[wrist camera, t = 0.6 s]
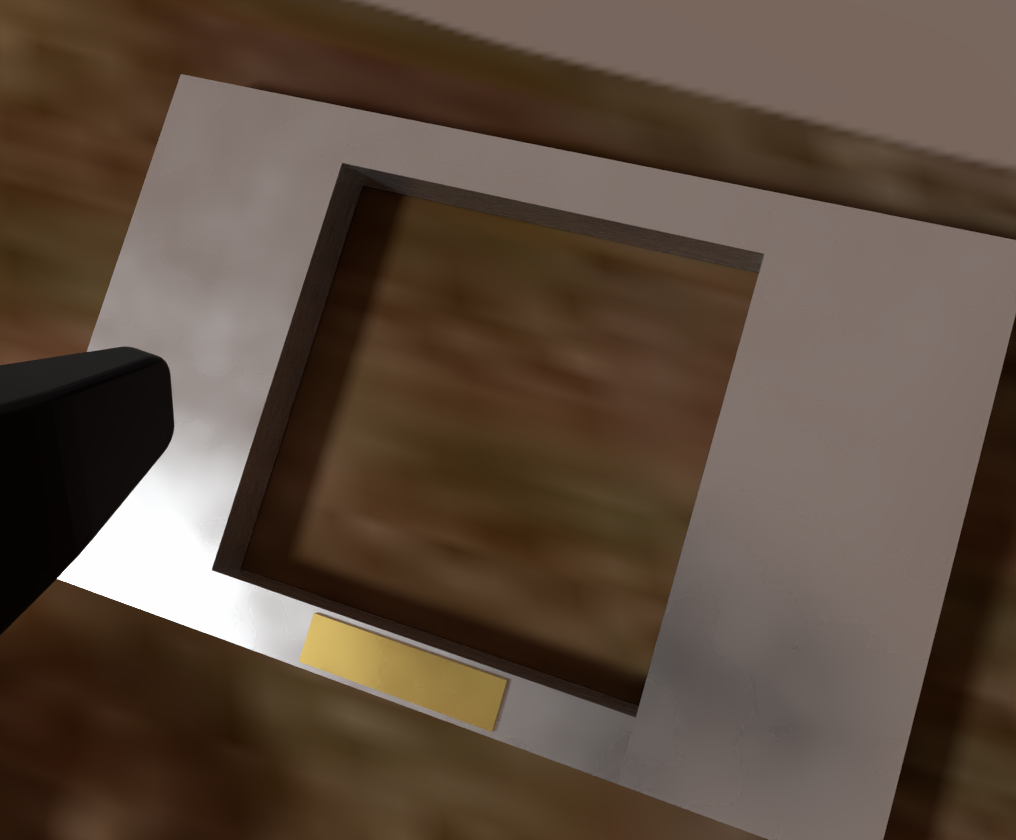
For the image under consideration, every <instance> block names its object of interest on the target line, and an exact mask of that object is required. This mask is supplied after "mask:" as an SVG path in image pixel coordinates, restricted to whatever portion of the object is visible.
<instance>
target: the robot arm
mask: <svg viewBox="0 0 1016 840" xmlns="http://www.w3.org/2000/svg"><path fill="white" fill-rule="evenodd" d="M173 433H174V412H173V399H172V387H171V374H170V369H169V367H168V364H167V363H166V361H165V360H164V359H163V358H161V357H160V356H157V355H154V354H152V353H149V352H146V351H143V350H140V349H137V348H134V347H127V346H124V347H116V348H110V349H103V350H97V351H91V352H84V353H78V354H71V355H65V356H58V357H52V358H45V359H39V360H33V361H26V362H20V363H13V364H7V365H0V635H1V634H2V633H3V632H4V631H5V630H6V629H7V628H8V627H9V626H10V625H11V624H12V623H13V622H14V621H15V620H16V619H17V618H18V617H19V616H20V615H21V614H22V613H23V612H24V611H25V610H26V609H27V608H28V607H29V606H30V605H31V604H32V603H33V602H34V601H35V600H36V599H37V598H38V597H39V596H40V595H41V594H42V593H43V592H44V591H45V590H46V589H47V588H48V587H49V586H50V585H51V584H52V583H53V582H54V581H55V580H56V579H57V578H58V577H59V576H60V575H61V574H62V573H63V572H64V571H65V570H66V569H67V568H68V567H69V566H70V565H71V564H72V562H73V561H74V560H75V559H76V558H77V557H78V556H79V555H80V554H81V553H82V551H83V550H84V549H85V548H86V547H87V546H88V544H89V543H90V542H91V541H92V540H93V539H94V537H95V536H96V535H97V534H98V533H99V531H100V530H101V529H102V528H103V526H104V525H105V524H106V523H107V522H108V520H109V519H110V518H111V517H112V515H113V514H114V513H115V512H116V511H117V509H118V508H119V507H120V506H121V504H122V503H123V502H124V501H125V500H126V498H127V497H128V496H129V495H130V493H131V492H132V491H133V490H134V488H135V487H136V486H137V485H138V484H139V482H140V481H141V480H142V479H143V477H144V476H145V475H146V474H147V473H148V471H149V470H150V469H151V468H152V466H153V465H154V464H155V463H156V462H157V460H158V459H159V458H160V457H161V455H162V454H163V453H164V452H165V450H166V449H167V447H168V446H169V444H170V442H171V439H172V436H173Z"/></svg>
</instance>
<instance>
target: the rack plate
mask: <svg viewBox="0 0 1016 840" xmlns="http://www.w3.org/2000/svg"><path fill="white" fill-rule="evenodd" d="M362 186H367V187H371V188H376V189H380V190H385V191H389V192H394V193H399V194H403V195H408V196H412V197H417V198H421V199H426V200H430V201H435V202H439V203H444V204H448V205H453V206H457V207H462V208H467V209H471V210H476V211H480V212H485V213H489V214H494V215H498V216H503V217H507V218H512V219H516V220H521V221H525V222H530V223H535V224H539V225H544V226H548V227H553V228H557V229H562V230H566V231H571V232H575V233H580V234H584V235H589V236H593V237H598V238H603V239H607V240H612V241H616V242H621V243H625V244H630V245H634V246H639V247H643V248H648V249H652V250H657V251H662V252H666V253H671V254H675V255H680V256H684V257H689V258H693V259H698V260H702V261H707V262H711V263H716V264H720V265H725V266H730V267H734V268H739V269H743V270H748V271H752V272H757V273H759V275H758V279H757V282H756V286H755V290H754V293H753V297H752V300H751V304H750V308H749V311H748V315H747V318H746V322H745V326H744V329H743V333H742V336H741V340H740V344H739V347H738V351H737V354H736V358H735V362H734V365H733V369H732V372H731V376H730V380H729V383H728V387H727V390H726V394H725V398H724V401H723V405H722V409H721V412H720V416H719V419H718V423H717V427H716V430H715V434H714V437H713V441H712V445H711V448H710V452H709V455H708V459H707V463H706V466H705V470H704V473H703V477H702V481H701V484H700V488H699V491H698V495H697V499H696V502H695V506H694V509H693V513H692V517H691V520H690V524H689V527H688V531H687V535H686V538H685V542H684V545H683V549H682V553H681V556H680V560H679V563H678V567H677V571H676V574H675V578H674V582H673V585H672V589H671V592H670V596H669V600H668V603H667V607H666V610H665V614H664V618H663V621H662V625H661V628H660V632H659V636H658V639H657V643H656V646H655V650H654V654H653V657H652V661H651V664H650V668H649V672H648V675H647V679H646V682H645V686H644V690H643V693H642V697H641V700H640V704H639V706H638V705H636V704H633V703H630V702H627V701H624V700H621V699H618V698H615V697H612V696H609V695H606V694H604V693H601V692H598V691H595V690H592V689H589V688H586V687H583V686H580V685H577V684H574V683H572V682H569V681H566V680H563V679H560V678H557V677H554V676H551V675H548V674H545V673H542V672H540V671H537V670H534V669H531V668H528V667H525V666H522V665H519V664H516V663H513V662H510V661H508V660H505V659H502V658H499V657H496V656H493V655H490V654H487V653H484V652H481V651H478V650H476V649H473V648H470V647H467V646H464V645H461V644H458V643H455V642H452V641H449V640H446V639H444V638H441V637H438V636H435V635H432V634H429V633H426V632H423V631H420V630H417V629H414V628H412V627H409V626H406V625H403V624H400V623H397V622H394V621H391V620H388V619H385V618H382V617H380V616H377V615H374V614H371V613H368V612H365V611H362V610H359V609H356V608H353V607H350V606H348V605H345V604H342V603H339V602H336V601H333V600H330V599H327V598H324V597H321V596H318V595H316V594H313V593H310V592H307V591H304V590H301V589H298V588H295V587H292V586H289V585H286V584H284V583H281V582H278V581H275V580H272V579H269V578H266V577H263V576H260V575H257V574H254V573H252V572H249V571H246V570H243V569H241V567H242V564H243V560H244V557H245V554H246V551H247V548H248V545H249V542H250V538H251V535H252V532H253V529H254V526H255V523H256V519H257V516H258V513H259V510H260V507H261V504H262V501H263V497H264V494H265V491H266V488H267V485H268V482H269V479H270V475H271V472H272V469H273V466H274V463H275V460H276V457H277V453H278V450H279V447H280V444H281V441H282V438H283V435H284V431H285V428H286V425H287V422H288V419H289V416H290V413H291V409H292V406H293V403H294V400H295V397H296V394H297V391H298V387H299V384H300V381H301V378H302V375H303V372H304V369H305V365H306V362H307V359H308V356H309V353H310V350H311V347H312V343H313V340H314V337H315V334H316V331H317V328H318V325H319V321H320V318H321V315H322V312H323V309H324V306H325V303H326V299H327V296H328V293H329V290H330V287H331V284H332V281H333V277H334V274H335V271H336V268H337V265H338V262H339V258H340V255H341V252H342V249H343V246H344V243H345V240H346V236H347V233H348V230H349V227H350V224H351V221H352V218H353V214H354V211H355V208H356V205H357V202H358V199H359V196H360V192H361V189H362ZM1015 315H1016V240H1013V239H1008V238H1003V237H997V236H992V235H987V234H982V233H977V232H972V231H967V230H962V229H957V228H952V227H947V226H942V225H937V224H932V223H927V222H922V221H917V220H912V219H907V218H902V217H897V216H892V215H887V214H882V213H877V212H872V211H867V210H862V209H857V208H852V207H847V206H841V205H836V204H831V203H826V202H821V201H816V200H811V199H806V198H801V197H796V196H791V195H786V194H781V193H776V192H771V191H766V190H761V189H756V188H751V187H746V186H741V185H736V184H731V183H726V182H721V181H716V180H711V179H706V178H701V177H696V176H691V175H685V174H680V173H675V172H670V171H665V170H660V169H655V168H650V167H645V166H640V165H635V164H630V163H625V162H620V161H615V160H610V159H605V158H600V157H595V156H590V155H585V154H580V153H575V152H570V151H565V150H560V149H555V148H550V147H545V146H540V145H535V144H529V143H524V142H519V141H514V140H509V139H504V138H499V137H494V136H489V135H484V134H479V133H474V132H469V131H464V130H459V129H454V128H449V127H444V126H439V125H434V124H429V123H424V122H419V121H414V120H409V119H404V118H399V117H394V116H389V115H384V114H379V113H373V112H368V111H363V110H358V109H353V108H348V107H343V106H338V105H333V104H328V103H323V102H318V101H313V100H308V99H303V98H298V97H293V96H288V95H283V94H278V93H273V92H268V91H263V90H258V89H253V88H248V87H243V86H238V85H233V84H228V83H223V82H217V81H212V80H207V79H202V78H197V77H192V76H187V75H182V74H181V75H180V78H179V81H178V84H177V87H176V90H175V93H174V96H173V99H172V102H171V105H170V108H169V111H168V114H167V117H166V120H165V123H164V125H163V128H162V131H161V134H160V137H159V140H158V143H157V146H156V149H155V152H154V155H153V158H152V161H151V164H150V167H149V170H148V173H147V176H146V179H145V182H144V184H143V187H142V190H141V193H140V196H139V199H138V202H137V205H136V208H135V211H134V214H133V217H132V220H131V223H130V226H129V229H128V232H127V235H126V238H125V240H124V243H123V246H122V249H121V252H120V255H119V258H118V261H117V264H116V267H115V270H114V273H113V276H112V279H111V282H110V285H109V288H108V291H107V294H106V296H105V299H104V302H103V305H102V308H101V311H100V314H99V317H98V320H97V323H96V326H95V329H94V332H93V335H92V338H91V341H90V344H89V347H88V350H87V352H91V351H97V350H103V349H110V348H116V347H124V346H127V347H134V348H137V349H140V350H143V351H146V352H149V353H152V354H154V355H157V356H160V357H161V358H163V359H164V360H165V361H166V363H167V364H168V367H169V369H170V374H171V387H172V399H173V412H174V433H173V436H172V439H171V442H170V444H169V446H168V447H167V449H166V450H165V452H164V453H163V454H162V455H161V457H160V458H159V459H158V460H157V462H156V463H155V464H154V465H153V466H152V468H151V469H150V470H149V471H148V473H147V474H146V475H145V476H144V477H143V479H142V480H141V481H140V482H139V484H138V485H137V486H136V487H135V488H134V490H133V491H132V492H131V493H130V495H129V496H128V497H127V498H126V500H125V501H124V502H123V503H122V504H121V506H120V507H119V508H118V509H117V511H116V512H115V513H114V514H113V515H112V517H111V518H110V519H109V520H108V522H107V523H106V524H105V525H104V526H103V528H102V529H101V530H100V531H99V533H98V534H97V535H96V536H95V537H94V539H93V540H92V541H91V542H90V543H89V544H88V546H87V547H86V548H85V549H84V550H83V551H82V553H81V554H80V555H79V556H78V557H77V558H76V559H75V560H74V561H73V562H72V564H71V565H70V566H69V567H68V568H67V569H66V570H65V571H64V572H63V573H62V574H61V575H60V576H59V577H58V578H57V579H60V580H63V581H65V582H68V583H71V584H74V585H76V586H79V587H82V588H85V589H87V590H90V591H93V592H95V593H98V594H101V595H104V596H106V597H109V598H112V599H115V600H117V601H120V602H123V603H125V604H128V605H131V606H134V607H136V608H139V609H142V610H145V611H147V612H150V613H153V614H155V615H158V616H161V617H164V618H166V619H169V620H172V621H174V622H177V623H180V624H183V625H185V626H188V627H191V628H194V629H196V630H199V631H202V632H204V633H207V634H210V635H213V636H215V637H218V638H221V639H224V640H226V641H229V642H232V643H234V644H237V645H240V646H243V647H245V648H248V649H251V650H254V651H256V652H259V653H262V654H264V655H267V656H270V657H273V658H275V659H278V660H281V661H284V662H286V663H289V664H292V665H294V666H297V667H300V668H303V669H305V670H308V671H311V672H314V673H316V674H319V675H322V676H324V677H327V678H330V679H333V680H335V681H338V682H341V683H343V684H346V685H349V686H352V687H354V688H357V689H360V690H363V691H365V692H368V693H371V694H373V695H376V696H379V697H382V698H384V699H387V700H390V701H393V702H395V703H398V704H401V705H403V706H406V707H409V708H412V709H414V710H417V711H420V712H423V713H425V714H428V715H431V716H433V717H436V718H439V719H442V720H444V721H447V722H450V723H453V724H455V725H458V726H461V727H463V728H466V729H469V730H472V731H474V732H477V733H480V734H483V735H485V736H488V737H491V738H493V739H496V740H499V741H502V742H504V743H507V744H510V745H512V746H515V747H518V748H521V749H523V750H526V751H529V752H532V753H534V754H537V755H540V756H542V757H545V758H548V759H551V760H553V761H556V762H559V763H562V764H564V765H567V766H570V767H572V768H575V769H578V770H581V771H583V772H586V773H589V774H592V775H594V776H597V777H600V778H602V779H605V780H608V781H611V782H613V783H616V784H619V785H622V786H624V787H627V788H630V789H632V790H635V791H638V792H641V793H643V794H646V795H649V796H652V797H654V798H657V799H660V800H662V801H665V802H668V803H671V804H673V805H676V806H679V807H681V808H684V809H687V810H690V811H692V812H695V813H698V814H701V815H703V816H706V817H709V818H711V819H714V820H717V821H720V822H722V823H725V824H728V825H731V826H733V827H736V828H739V829H741V830H744V831H747V832H750V833H752V834H755V835H758V836H761V837H763V838H766V839H769V840H883V839H884V835H885V831H886V827H887V823H888V819H889V815H890V811H891V807H892V803H893V799H894V795H895V791H896V787H897V783H898V779H899V775H900V771H901V767H902V763H903V759H904V755H905V751H906V747H907V743H908V739H909V736H910V732H911V728H912V724H913V720H914V716H915V712H916V708H917V704H918V700H919V696H920V692H921V688H922V684H923V680H924V676H925V672H926V668H927V664H928V660H929V656H930V652H931V648H932V644H933V640H934V636H935V632H936V628H937V624H938V620H939V616H940V612H941V609H942V605H943V601H944V597H945V593H946V589H947V585H948V581H949V577H950V573H951V569H952V565H953V561H954V557H955V553H956V549H957V545H958V541H959V537H960V533H961V529H962V525H963V521H964V517H965V513H966V509H967V505H968V501H969V497H970V493H971V489H972V485H973V482H974V478H975V474H976V470H977V466H978V462H979V458H980V454H981V450H982V446H983V442H984V438H985V434H986V430H987V426H988V422H989V418H990V414H991V410H992V406H993V402H994V398H995V394H996V390H997V386H998V382H999V378H1000V374H1001V370H1002V366H1003V362H1004V358H1005V355H1006V351H1007V347H1008V343H1009V339H1010V335H1011V331H1012V327H1013V323H1014V319H1015Z"/></svg>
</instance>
